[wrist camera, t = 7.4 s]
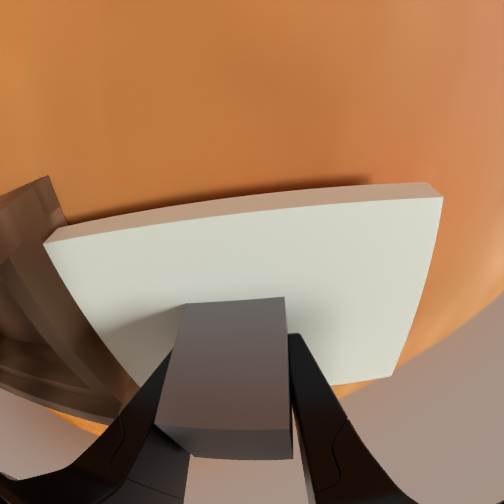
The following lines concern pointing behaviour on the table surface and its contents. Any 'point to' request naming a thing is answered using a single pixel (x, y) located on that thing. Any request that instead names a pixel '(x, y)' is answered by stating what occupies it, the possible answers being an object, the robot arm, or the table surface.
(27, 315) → the box
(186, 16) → the table surface
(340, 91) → the table surface
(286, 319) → the cover
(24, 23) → the table surface
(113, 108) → the table surface
